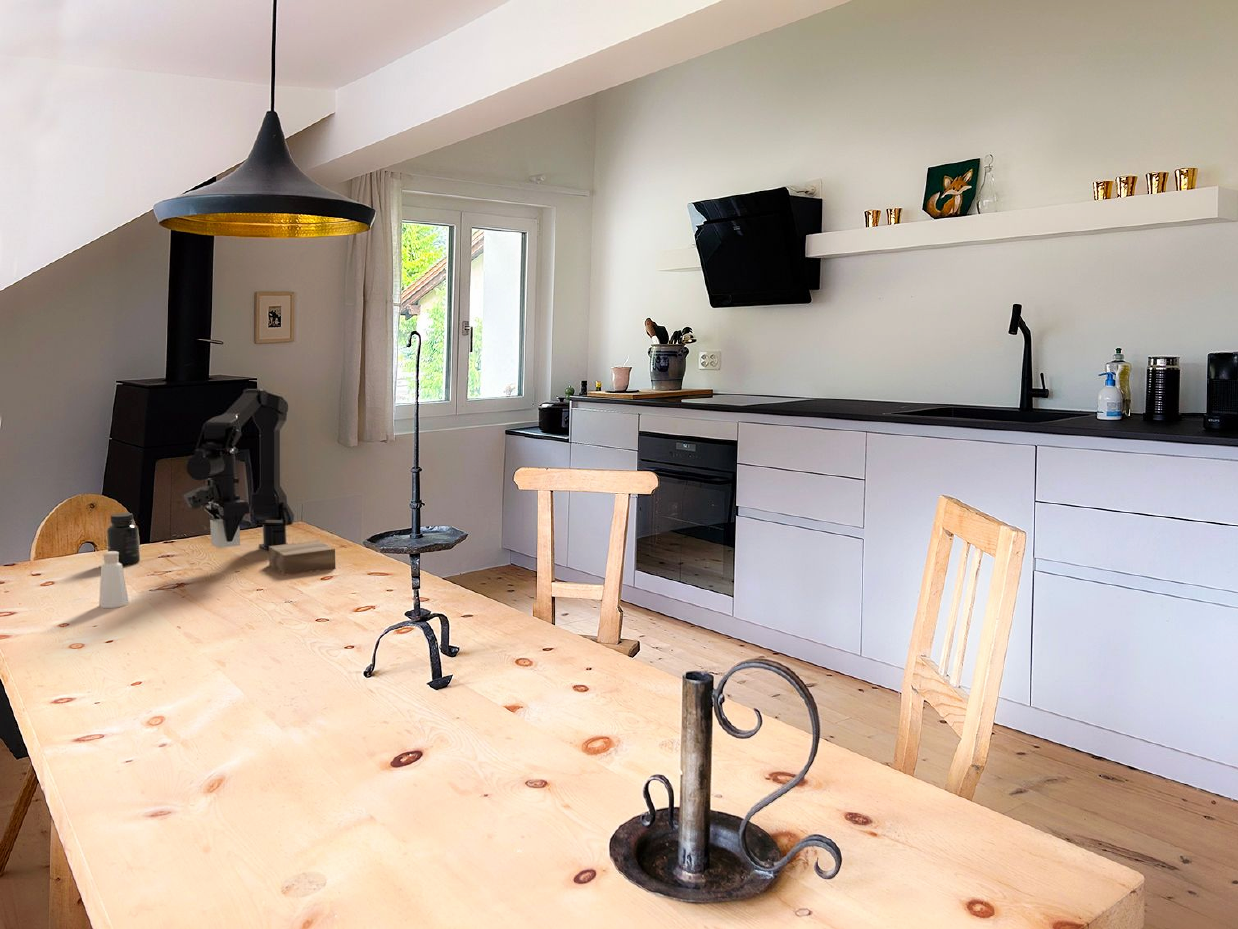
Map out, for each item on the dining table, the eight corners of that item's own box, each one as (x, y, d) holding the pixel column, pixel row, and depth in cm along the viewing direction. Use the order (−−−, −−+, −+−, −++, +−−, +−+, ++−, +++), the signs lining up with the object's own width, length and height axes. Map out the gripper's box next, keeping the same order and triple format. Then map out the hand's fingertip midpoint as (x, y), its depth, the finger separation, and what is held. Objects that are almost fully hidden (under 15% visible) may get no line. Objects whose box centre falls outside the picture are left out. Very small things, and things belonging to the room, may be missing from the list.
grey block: (211, 544, 224) (210, 519, 223) (232, 541, 227) (231, 517, 226) (218, 548, 220) (217, 522, 219) (240, 545, 223) (239, 520, 223)
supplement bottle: (101, 565, 228) (98, 516, 226) (124, 559, 234) (121, 511, 233) (124, 567, 226) (121, 518, 224) (146, 561, 232) (143, 513, 231)
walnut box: (269, 566, 229) (268, 546, 229) (318, 560, 237) (317, 540, 236) (285, 576, 220) (284, 555, 219) (335, 569, 227) (334, 549, 226)
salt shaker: (97, 609, 191) (94, 556, 189) (100, 602, 196) (97, 550, 194) (127, 606, 193) (124, 554, 191) (129, 600, 198) (126, 548, 196)
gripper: (174, 472, 223) (177, 537, 225) (199, 482, 209) (202, 551, 211) (222, 468, 230) (225, 531, 232) (250, 477, 216) (253, 544, 218)
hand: (225, 539), depth 223 cm, fingers closed on grey block, 5 cm apart
